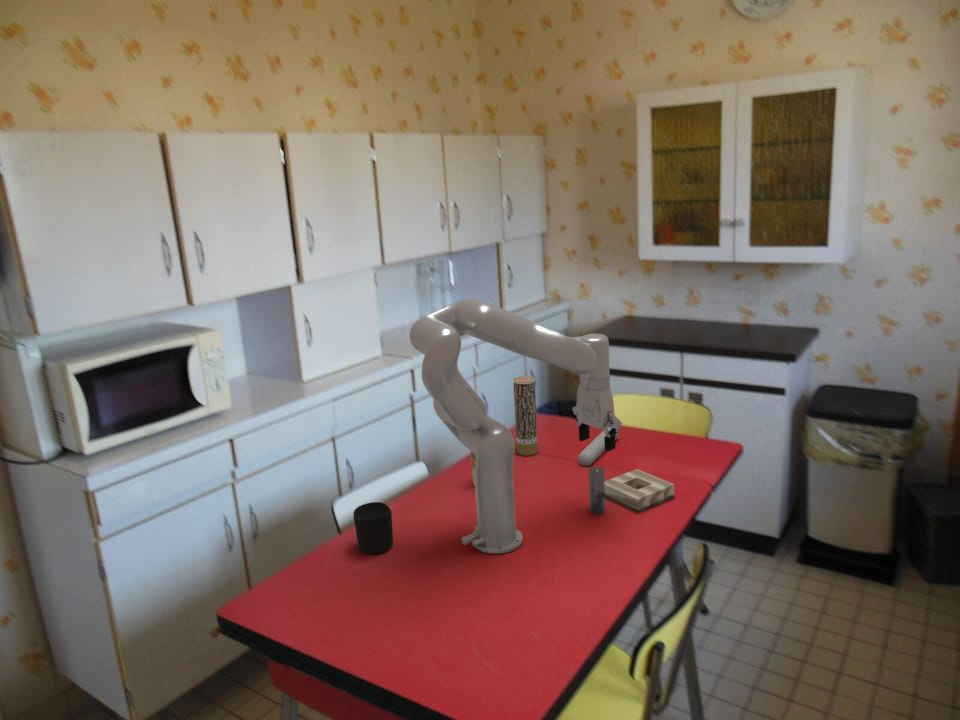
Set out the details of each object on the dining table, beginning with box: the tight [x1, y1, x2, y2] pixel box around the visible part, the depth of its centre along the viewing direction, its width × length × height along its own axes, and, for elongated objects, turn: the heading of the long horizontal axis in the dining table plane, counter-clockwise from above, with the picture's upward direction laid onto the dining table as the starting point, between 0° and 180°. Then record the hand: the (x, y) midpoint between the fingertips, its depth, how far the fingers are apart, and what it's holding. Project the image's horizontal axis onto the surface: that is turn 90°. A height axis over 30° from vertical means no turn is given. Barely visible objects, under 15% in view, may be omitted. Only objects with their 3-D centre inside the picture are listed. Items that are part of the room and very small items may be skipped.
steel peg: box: [588, 466, 606, 515], centre depth 191 cm, size 4×4×12 cm
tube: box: [578, 427, 620, 467], centre depth 231 cm, size 5×5×25 cm
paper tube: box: [513, 375, 539, 457], centre depth 232 cm, size 7×7×25 cm
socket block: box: [604, 468, 675, 514], centre depth 199 cm, size 14×14×4 cm
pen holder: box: [352, 501, 394, 556], centre depth 181 cm, size 9×9×10 cm
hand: (597, 444), depth 188 cm, fingers open, 9 cm apart
